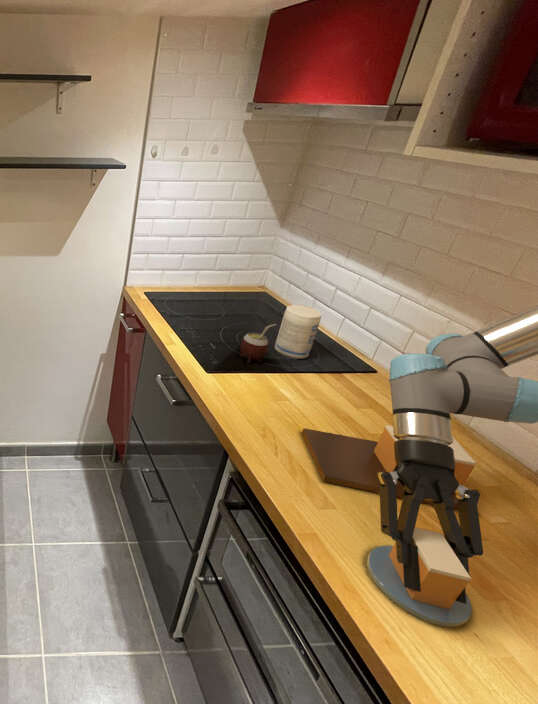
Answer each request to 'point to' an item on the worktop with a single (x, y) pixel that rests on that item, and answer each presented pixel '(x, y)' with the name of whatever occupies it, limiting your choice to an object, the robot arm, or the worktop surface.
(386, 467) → the loaf cake
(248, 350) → the mate gourd
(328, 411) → the worktop surface
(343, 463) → the serving board
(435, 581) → the cake slice
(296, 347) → the supplement tub
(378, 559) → the plate
